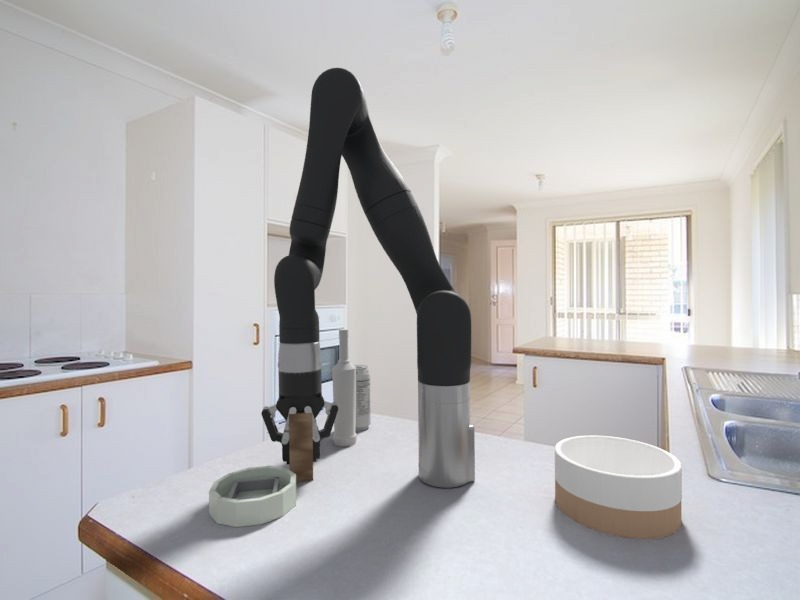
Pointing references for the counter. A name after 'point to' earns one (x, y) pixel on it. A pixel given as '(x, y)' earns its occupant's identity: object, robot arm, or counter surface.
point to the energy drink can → (362, 398)
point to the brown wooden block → (301, 445)
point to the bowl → (619, 486)
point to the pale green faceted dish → (252, 496)
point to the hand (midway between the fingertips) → (301, 461)
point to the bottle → (344, 395)
